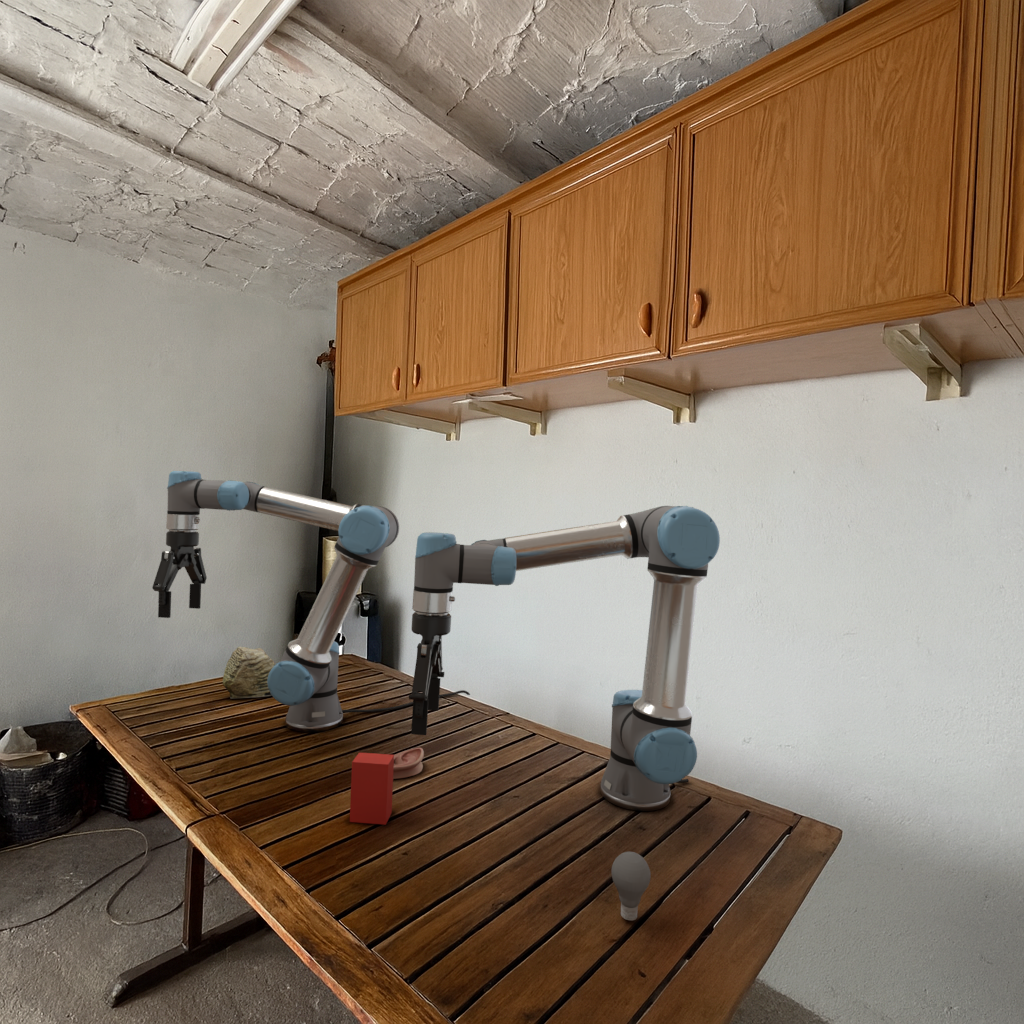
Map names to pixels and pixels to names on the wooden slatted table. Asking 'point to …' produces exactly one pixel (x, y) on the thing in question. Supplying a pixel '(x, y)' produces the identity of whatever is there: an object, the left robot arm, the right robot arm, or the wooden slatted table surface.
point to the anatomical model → (408, 763)
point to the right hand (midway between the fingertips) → (425, 721)
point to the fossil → (248, 673)
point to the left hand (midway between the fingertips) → (180, 612)
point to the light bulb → (630, 881)
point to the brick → (371, 788)
